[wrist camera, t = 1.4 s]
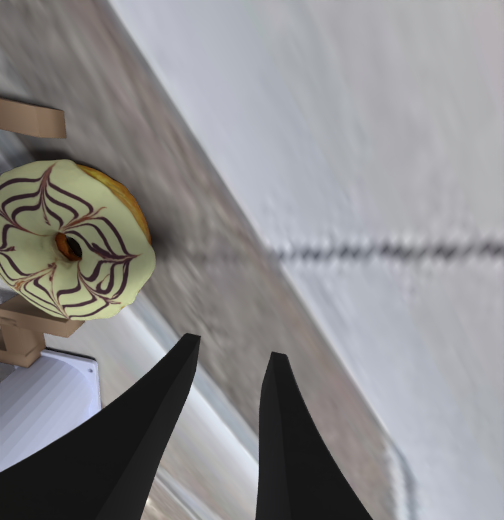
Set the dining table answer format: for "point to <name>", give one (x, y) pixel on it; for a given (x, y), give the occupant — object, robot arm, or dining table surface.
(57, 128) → the frame
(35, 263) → the decorated donut
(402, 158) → the dining table surface
